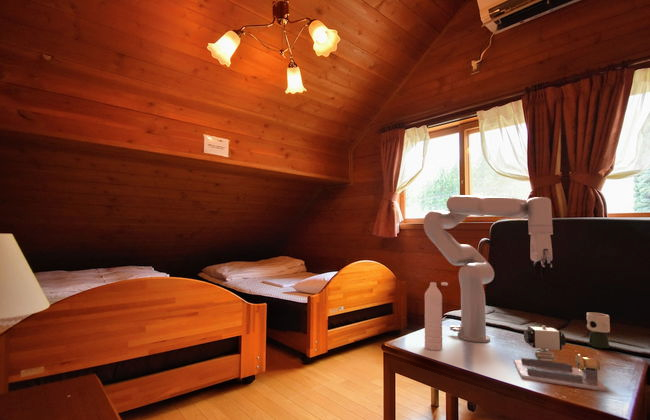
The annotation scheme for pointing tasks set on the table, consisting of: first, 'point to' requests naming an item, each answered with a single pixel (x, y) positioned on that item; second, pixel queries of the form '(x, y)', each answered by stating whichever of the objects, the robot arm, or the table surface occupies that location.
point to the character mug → (598, 329)
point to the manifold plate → (562, 372)
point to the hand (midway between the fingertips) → (543, 277)
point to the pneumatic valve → (544, 341)
